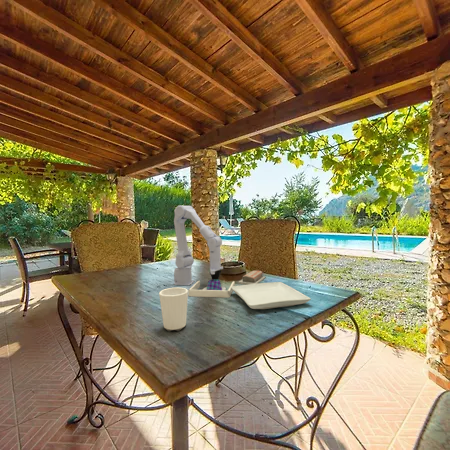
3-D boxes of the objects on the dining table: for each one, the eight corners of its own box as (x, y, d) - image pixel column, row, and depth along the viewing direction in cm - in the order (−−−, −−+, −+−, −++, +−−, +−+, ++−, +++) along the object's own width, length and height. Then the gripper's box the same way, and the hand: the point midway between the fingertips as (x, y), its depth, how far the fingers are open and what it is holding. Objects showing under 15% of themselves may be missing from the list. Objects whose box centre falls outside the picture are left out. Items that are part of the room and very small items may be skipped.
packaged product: (250, 269, 159) (265, 270, 154) (250, 276, 159) (265, 278, 154) (237, 275, 143) (254, 277, 138) (238, 284, 143) (255, 286, 139)
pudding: (230, 288, 135) (230, 278, 135) (218, 295, 125) (217, 284, 124) (211, 286, 141) (210, 276, 141) (198, 292, 131) (197, 281, 130)
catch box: (188, 296, 123) (188, 290, 123) (198, 286, 140) (198, 280, 140) (229, 297, 120) (229, 291, 120) (234, 287, 137) (234, 281, 136)
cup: (188, 333, 85) (187, 295, 85) (158, 334, 85) (156, 296, 84) (190, 320, 95) (188, 286, 95) (163, 322, 94) (161, 287, 94)
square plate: (249, 314, 99) (249, 304, 99) (230, 293, 125) (229, 285, 125) (311, 306, 106) (311, 297, 106) (280, 288, 132) (280, 280, 132)
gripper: (219, 261, 129) (220, 288, 129) (225, 256, 143) (225, 281, 144) (206, 261, 130) (206, 288, 131) (212, 256, 144) (213, 280, 145)
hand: (215, 284), depth 137 cm, fingers closed
